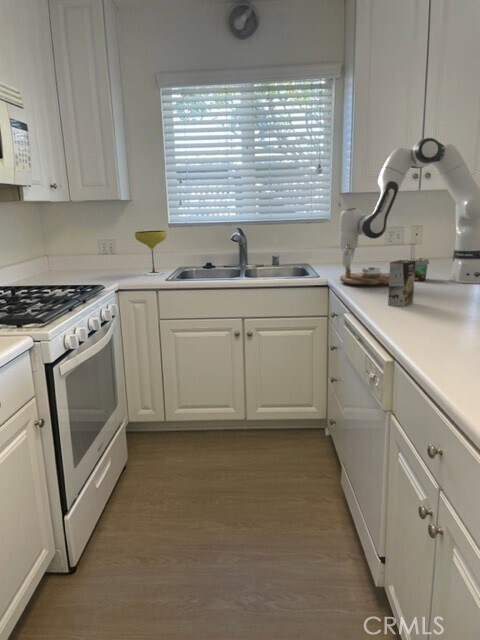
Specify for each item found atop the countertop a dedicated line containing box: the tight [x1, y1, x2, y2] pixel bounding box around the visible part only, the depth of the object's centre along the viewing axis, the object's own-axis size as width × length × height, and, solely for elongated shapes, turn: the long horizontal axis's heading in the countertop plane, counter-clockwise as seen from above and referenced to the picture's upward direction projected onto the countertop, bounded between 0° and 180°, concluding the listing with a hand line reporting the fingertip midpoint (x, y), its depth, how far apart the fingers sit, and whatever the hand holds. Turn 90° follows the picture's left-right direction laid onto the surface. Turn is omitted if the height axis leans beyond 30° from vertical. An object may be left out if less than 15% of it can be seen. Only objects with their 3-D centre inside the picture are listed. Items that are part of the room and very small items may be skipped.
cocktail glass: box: [134, 230, 167, 273], centre depth 277 cm, size 18×18×25 cm
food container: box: [414, 257, 430, 282], centre depth 225 cm, size 12×6×10 cm, turn 143°
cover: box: [361, 267, 381, 278], centre depth 222 cm, size 8×8×4 cm
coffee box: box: [387, 259, 416, 308], centre depth 175 cm, size 9×6×16 cm
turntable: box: [339, 268, 390, 286], centre depth 223 cm, size 28×28×5 cm
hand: (347, 272), depth 224 cm, fingers closed
